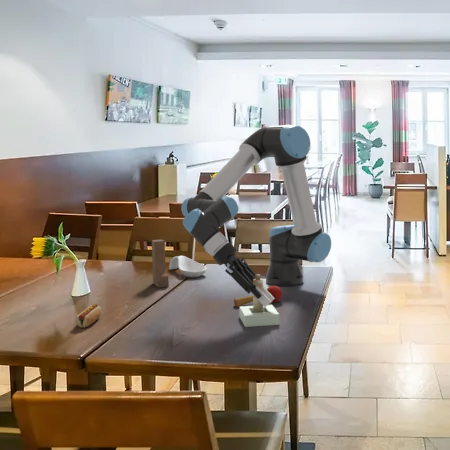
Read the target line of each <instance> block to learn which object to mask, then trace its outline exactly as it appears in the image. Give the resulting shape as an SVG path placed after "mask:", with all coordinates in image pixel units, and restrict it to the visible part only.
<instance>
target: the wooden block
mask: <svg viewBox="0 0 450 450" xmlns="http://www.w3.org/2000/svg"><path fill="white" fill-rule="evenodd" d="M165 242H166V241H165V240H164V239H152V240H151V257H152V259H151V260H152V261H151V262H152V283H153V284H154V285H155V287H156V288H158V289H160V288H168V287H169V284H170V283H169V282H170V281H169V275H168V274H167V270H166V269H167V268H166V243H165Z"/></svg>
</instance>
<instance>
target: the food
mask: <svg viewBox="0 0 450 450" xmlns="http://www.w3.org/2000/svg"><path fill="white" fill-rule="evenodd" d="M101 314H102V307H101V306H100V305H98V304H97V303H93V304H91V305H89V306H88V307H87V308H85V309H84V310H83V311H82V312H80V313H79V314H78V315H76V317H75V324H76V325H77V326H78V327H79V328H84V329H85V328H87V327H90V325H92V324H94V323H95V322H96V321H97V320H99V318H100V317H101V316H102V315H101Z"/></svg>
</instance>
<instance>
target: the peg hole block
mask: <svg viewBox="0 0 450 450" xmlns="http://www.w3.org/2000/svg"><path fill="white" fill-rule="evenodd" d="M238 308H239V310H238V311H239V315H238V316H239V319H240V321H241V323H242V324H243V326H244V327H245V328H248V327H263V326H265V327H266V326H278V325H280V313H279V312H278V311H277V309H276V307H275V306H274V305H273V304H270V305H267V306H266V307H264V306H263V312H261V313H255V312H253V305H244V306H243V305H241V306H238Z"/></svg>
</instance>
